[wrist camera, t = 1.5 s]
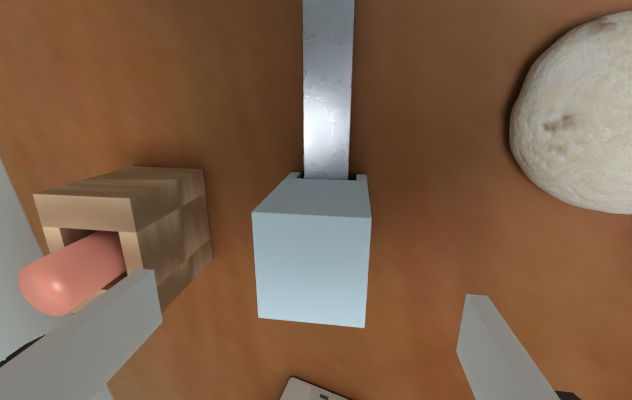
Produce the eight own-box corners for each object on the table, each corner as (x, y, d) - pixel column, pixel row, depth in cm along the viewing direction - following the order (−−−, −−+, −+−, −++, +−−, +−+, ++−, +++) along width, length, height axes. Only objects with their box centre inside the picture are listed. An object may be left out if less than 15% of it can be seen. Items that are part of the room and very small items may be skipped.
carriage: (291, 172, 23) (251, 212, 14) (366, 174, 22) (371, 218, 13) (292, 243, 24) (258, 317, 16) (361, 248, 24) (364, 327, 15)
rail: (299, -92, 18) (283, -146, 14) (367, -97, 17) (370, -155, 13) (303, 265, 25) (293, 293, 21) (350, 268, 24) (349, 298, 21)
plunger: (129, 207, 22) (10, 261, 14) (167, 210, 22) (64, 266, 14) (136, 244, 23) (28, 312, 15) (172, 247, 23) (79, 318, 15)
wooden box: (133, 166, 24) (32, 193, 17) (202, 168, 24) (129, 198, 16) (149, 254, 27) (67, 312, 19) (213, 258, 26) (153, 321, 18)
